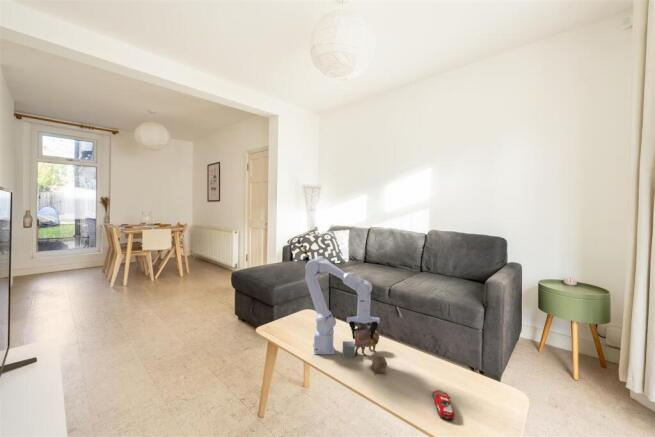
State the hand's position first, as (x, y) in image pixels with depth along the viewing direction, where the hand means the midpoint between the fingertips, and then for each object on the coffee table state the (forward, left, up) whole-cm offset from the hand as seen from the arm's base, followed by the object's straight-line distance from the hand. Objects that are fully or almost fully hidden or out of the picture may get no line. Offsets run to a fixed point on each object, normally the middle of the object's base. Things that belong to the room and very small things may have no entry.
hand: (362, 338), depth 128 cm
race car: (+24, -30, -10) cm, 40 cm away
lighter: (0, 0, -3) cm, 3 cm away
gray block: (-5, +4, -10) cm, 12 cm away
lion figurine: (+4, +7, -10) cm, 13 cm away
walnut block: (+6, -9, -10) cm, 14 cm away
